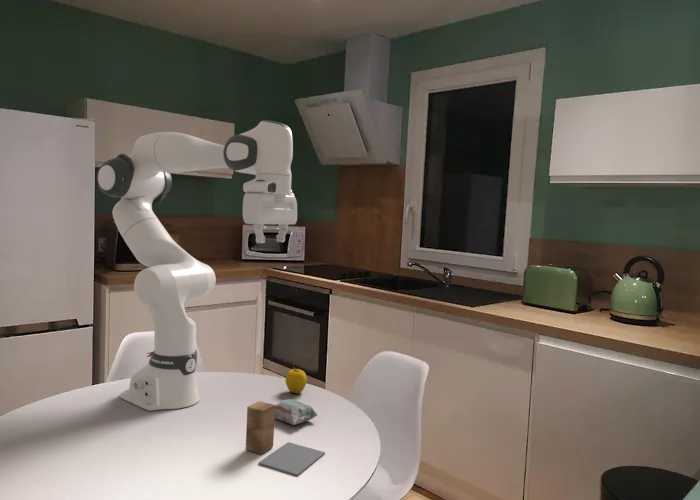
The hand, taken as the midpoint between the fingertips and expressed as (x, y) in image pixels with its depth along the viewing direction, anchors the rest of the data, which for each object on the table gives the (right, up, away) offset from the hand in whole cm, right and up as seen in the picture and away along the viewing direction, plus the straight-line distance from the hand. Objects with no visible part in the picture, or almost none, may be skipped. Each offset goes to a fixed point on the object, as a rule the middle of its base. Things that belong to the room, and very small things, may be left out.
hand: (270, 242), depth 131 cm
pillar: (-1, -48, -10) cm, 49 cm away
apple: (+3, -46, +29) cm, 54 cm away
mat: (+7, -49, -14) cm, 51 cm away
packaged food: (+4, -47, +7) cm, 48 cm away
